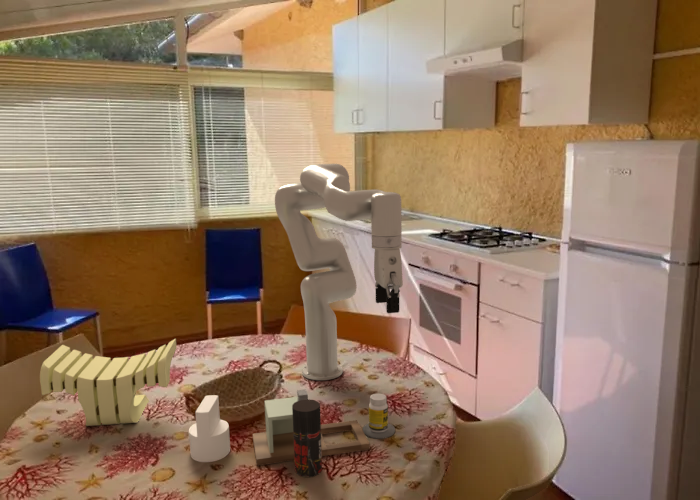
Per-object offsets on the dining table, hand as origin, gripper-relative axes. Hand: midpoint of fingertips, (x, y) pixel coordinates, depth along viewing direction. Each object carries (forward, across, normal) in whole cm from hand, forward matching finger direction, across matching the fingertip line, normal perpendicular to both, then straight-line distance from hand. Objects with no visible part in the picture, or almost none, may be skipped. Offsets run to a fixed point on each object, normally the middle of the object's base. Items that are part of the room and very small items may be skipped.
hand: (387, 307), depth 150 cm
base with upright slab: (+29, -9, +46) cm, 55 cm away
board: (+28, -12, +23) cm, 38 cm away
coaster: (+28, -10, +6) cm, 31 cm away
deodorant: (+28, -23, +25) cm, 44 cm away
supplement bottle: (+28, -10, +6) cm, 30 cm away
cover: (+27, -12, +28) cm, 40 cm away
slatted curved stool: (+29, +17, +70) cm, 78 cm away
